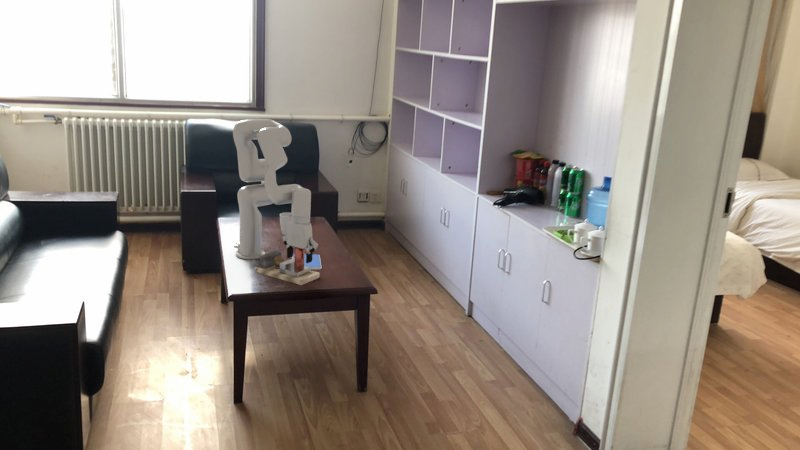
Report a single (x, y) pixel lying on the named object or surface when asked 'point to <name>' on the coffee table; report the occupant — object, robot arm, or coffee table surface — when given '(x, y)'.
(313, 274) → the base
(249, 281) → the coffee table surface
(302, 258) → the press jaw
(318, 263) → the tablet computer
